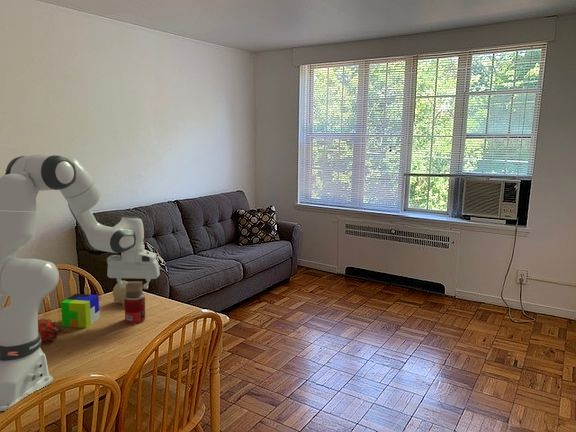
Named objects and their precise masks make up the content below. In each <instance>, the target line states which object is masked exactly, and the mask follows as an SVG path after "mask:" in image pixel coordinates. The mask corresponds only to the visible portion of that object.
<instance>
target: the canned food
mask: <svg viewBox="0 0 576 432" xmlns="http://www.w3.org/2000/svg"><path fill="white" fill-rule="evenodd" d="M124 305H125V306H124V320H125V323H127V324H131V325H132V324H133V325H135V324H140V323H143V322H144V321H145V320H146V296H145V293H144V292H143V293H142V294H141V296H140V297H126V295H125V296H124Z"/></svg>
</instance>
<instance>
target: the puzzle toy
mask: <svg viewBox="0 0 576 432" xmlns="http://www.w3.org/2000/svg"><path fill="white" fill-rule="evenodd" d="M60 307H61V308H60V309H61V321H62V322H61V325H62V327H67V328H69V327H70V328H80V329H81V328H83V329H87V328H89V326H91V325H93V324H94V323H95V322H96V321H98V320H99V319H100V295H98V294H86V293H74V294H73V295H71V296H69V297H67V298H65V300H63V301H61V302H60Z"/></svg>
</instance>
